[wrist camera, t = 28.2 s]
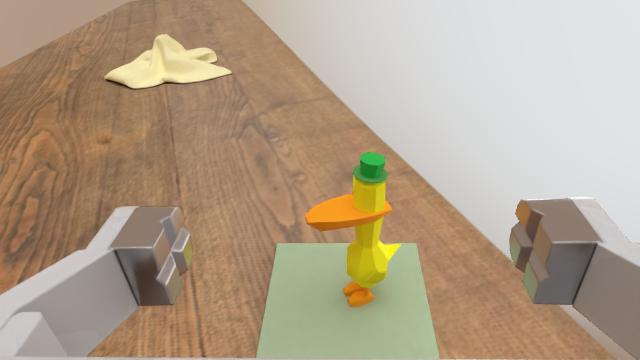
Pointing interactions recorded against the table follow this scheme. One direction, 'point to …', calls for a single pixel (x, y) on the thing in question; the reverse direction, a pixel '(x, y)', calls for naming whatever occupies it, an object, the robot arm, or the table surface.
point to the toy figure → (360, 227)
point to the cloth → (168, 65)
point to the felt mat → (344, 308)
